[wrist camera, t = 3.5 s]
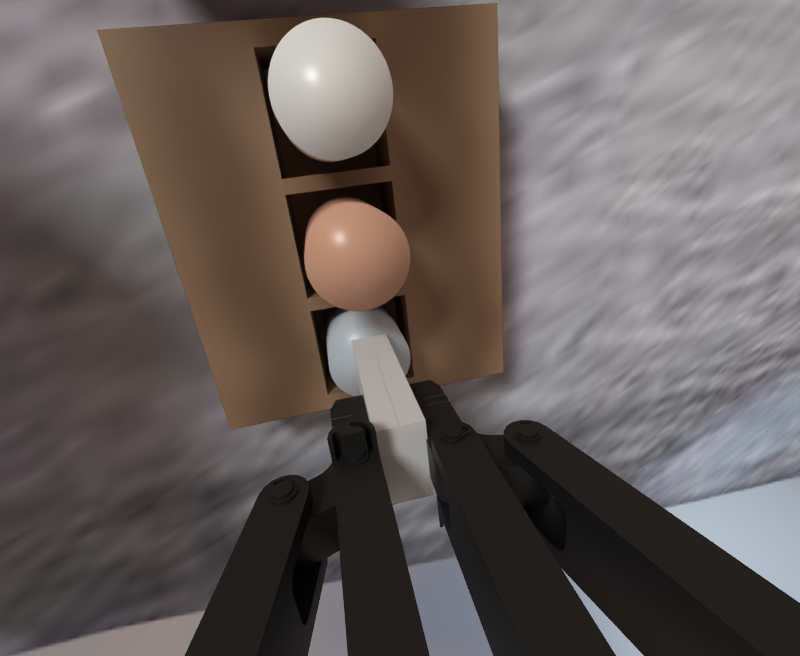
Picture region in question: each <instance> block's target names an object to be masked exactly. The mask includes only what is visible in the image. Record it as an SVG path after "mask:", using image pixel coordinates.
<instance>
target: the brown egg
mask: <svg viewBox="0 0 800 656" xmlns="http://www.w3.org/2000/svg"><path fill="white" fill-rule="evenodd" d="M304 263H305V270H306V273H307V277H308V279H309V281H310V283H311V285H312V287H313V288H314V290H315V291H316V292H317V293H318V294H319V295H320V296H321V297H322V298H323V299H324V300H325V301H327V302H328V303H330V304H332V305H333V306H336V307H338V308H341V309H345V310H350V311H364V310H370V309H373V308H376V307H379V306H381V305H383V304H385V303H386V302H387V301H389V300H390V299H391V298H393V297H394V296H395V295H396V294H397V292H398V291H399V290H400V289H401V287H402V286H403V284H404V282H405V280H406V278H407V275H408V272H409V268H410V249H409V244H408V241H407V238H406V236H405V234H404V232H403V231H402V229H401V227H400V226H399V225H398V224H397V223H396V221H394V220H393V219H392V218H391V217H390V216H388V215H387V214H386V213H384V212H382V211H380V210H379V209H377V208H375V207H374V206H372V205H370V204H368V203H367V202H365V201H363V200H360V199H358V198H354V197H337V198H333V199H330V200H328V201H326V202H324V203H323V204H322V205H320V206H319V207H318V208H317V209H316V210H315V211H314V213H313V214H312V216H311V217H310V219H309V222H308V224H307V228H306V236H305V253H304Z"/></svg>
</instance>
